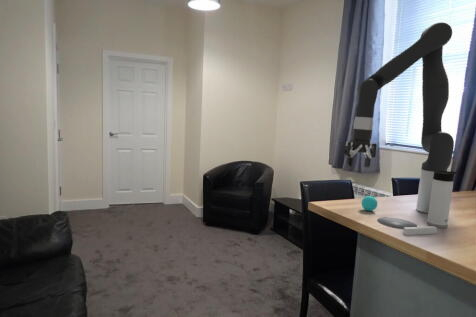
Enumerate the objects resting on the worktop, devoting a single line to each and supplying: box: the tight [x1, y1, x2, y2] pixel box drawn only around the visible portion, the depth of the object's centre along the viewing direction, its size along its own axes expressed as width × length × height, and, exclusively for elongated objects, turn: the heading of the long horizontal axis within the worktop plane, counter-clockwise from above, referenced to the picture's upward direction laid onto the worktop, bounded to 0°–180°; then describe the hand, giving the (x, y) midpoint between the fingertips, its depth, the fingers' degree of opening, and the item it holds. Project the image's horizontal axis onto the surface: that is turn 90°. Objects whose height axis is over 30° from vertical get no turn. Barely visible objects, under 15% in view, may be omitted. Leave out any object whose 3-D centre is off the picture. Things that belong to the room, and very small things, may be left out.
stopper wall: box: [402, 225, 438, 236], centre depth 112 cm, size 12×2×2 cm, turn 106°
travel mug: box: [426, 170, 457, 229], centre depth 120 cm, size 6×7×20 cm
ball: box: [361, 195, 378, 212], centre depth 137 cm, size 6×6×6 cm
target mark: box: [377, 216, 418, 230], centre depth 122 cm, size 13×13×1 cm
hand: (358, 166), depth 144 cm, fingers open, 8 cm apart
